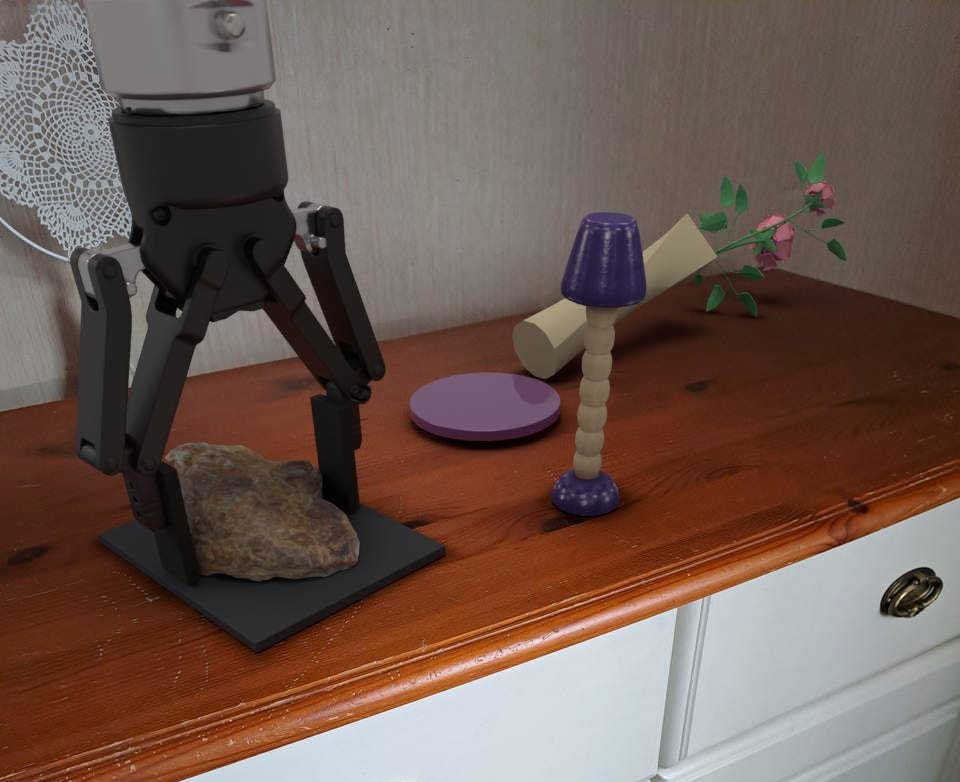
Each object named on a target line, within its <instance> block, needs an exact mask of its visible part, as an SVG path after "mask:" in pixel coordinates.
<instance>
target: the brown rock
mask: <svg viewBox="0 0 960 782" xmlns="http://www.w3.org/2000/svg"><path fill="white" fill-rule="evenodd" d="M164 459H165V462H166V463H167V464H169V465H170V466H172V467H174V468H176V469H177V472H178V477H179V482H180V486H181V491H182V495H183V500H184V505H185V509H186V514H187V518H188V523H189V528H190V532H191V537H192V541H193V546H194V550H195V555H196V560H197V564H198V569H199V573H200V574H202V575H207V576H208V575H212V574H215V573H224V574H228V575H232V576H233V577H234V578H248V579H251V580H255V581H261V580H268V579H270V578H273V577H284V578H289V579H296V580H297V579H301V578H307V577H317V576H322V577H327V576H329V575H331V574H333V573H335V572H337V571H340V570H346V569H349V568H351V567H353V566H355V565H356V563H357V560H358V556H359V544H360V542H359V539H358V537H357V533H356V532H355V531H354V529H353V527H352V526H351V524H350V522H349V520H348V518H347V516H346V514H345V513H343V512H342V511H341V510H340V509H339V508H337V507H336V506H335V505H334V504H332V503H330V502H327V501H325V500H322V499H320V498H318V496H319V493H320V491H321V488H322V483H323V481H322V473H321V472H320V471H319V468H317V467H314V466H313V464H312V462H311V460H310V459H293V460H289V461H275V460H270V459H268V458H265V457H263V456H262V455H261V454H260V453H259V452H258V451H254V450H252V449H250V448H248V447H246V446H244V445H242V444H241V445H240V444H236V445H235V444H234V445H224V444H223V445H222V444H211V443H208V442H204V441H202V442H186V443H183V444H179V445H178V446H176V447H174V448H173V449H170V451H169V452H168V453H167V454H166V455H165V457H164Z"/></svg>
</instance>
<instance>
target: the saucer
mask: <svg viewBox="0 0 960 782" xmlns="http://www.w3.org/2000/svg"><path fill="white" fill-rule="evenodd" d="M561 407H562V400H561V396H560V394H559V393H558V391H557V390H556V389H555V388H553V387H552V386H551V385H550V384H548V383H546V382H543V381H541V380H539V379H536V378H532V377H529V376H525V375H522V374H521V375H519V374H514V373H507V372H506V373H505V372H472V373H471V372H470V373H461V374H455V375H451V376H445V377H441V378H438V379H436V380H433V381H431V382H428V383H427V384H424V385H422V386H420V388H418V389H416V390H415V391H414V392H413V394H412V395H411V397H410V399H409V415H410V418H411V420H412V421H413V423H414V424H416V425H417V426H418V427H419V428H421V429H422V430H424V431H427V432H428V433H429V434H433V435H436V436H439V437H443V438H446V439H453V440H458V441H467V442H469V441H470V442H498V441H506V440H507V441H508V440H512V439H518V438H523V437H527V436H531V435H533V434H536V433H538V432H541V431H543V430H546V429H547V428H548V427H550V426H551V425H553V424H554V423H555V422H556V421H557V420H558V418H559V417H560V414H561Z"/></svg>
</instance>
